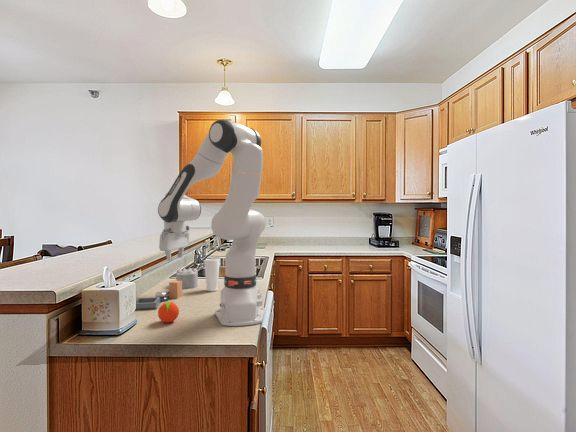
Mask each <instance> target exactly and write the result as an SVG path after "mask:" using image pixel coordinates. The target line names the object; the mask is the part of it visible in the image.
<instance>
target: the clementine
mask: <svg viewBox="0 0 576 432" xmlns="http://www.w3.org/2000/svg"><path fill="white" fill-rule="evenodd" d="M179 313H180V309H179V306H178V305H177V304H176V303H175V302H174V301H165V302H163V303H162V304H161V305H159V308H158V310H157V316H158V319H159V320H160V321H161V322H162V323H166V324H167V323H169V324H170V323H172V322H174V321H176V320H177V318H178V317H179Z"/></svg>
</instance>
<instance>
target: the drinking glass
mask: <svg viewBox="0 0 576 432" xmlns="http://www.w3.org/2000/svg"><path fill="white" fill-rule="evenodd" d="M204 271H205V272H204V273H205V283H206V291H207V292H217V291H218V290H219V278H220V277H219V275H220V259H219V258H214V257H213V258H205V260H204Z"/></svg>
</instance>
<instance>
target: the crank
mask: <svg viewBox="0 0 576 432" xmlns="http://www.w3.org/2000/svg"><path fill="white" fill-rule="evenodd" d="M166 296H169V288H168V289H167V290H163V291H157V292H155V297H160V298H164V297H166Z"/></svg>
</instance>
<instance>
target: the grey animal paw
mask: <svg viewBox="0 0 576 432" xmlns="http://www.w3.org/2000/svg"><path fill="white" fill-rule="evenodd" d="M175 277H176V278H175V281H182V290H185V289H186V288H187V289H195V288H198V287H199V286H198V285H199V284H198V283H199V282H198V280H199V278H198V277H199V276H198V270H197V269H196V268H193V269H192V267H189V268H188V269H187V268H185V267H184V268H182V269H178V270H177V271H176V275H175Z"/></svg>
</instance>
